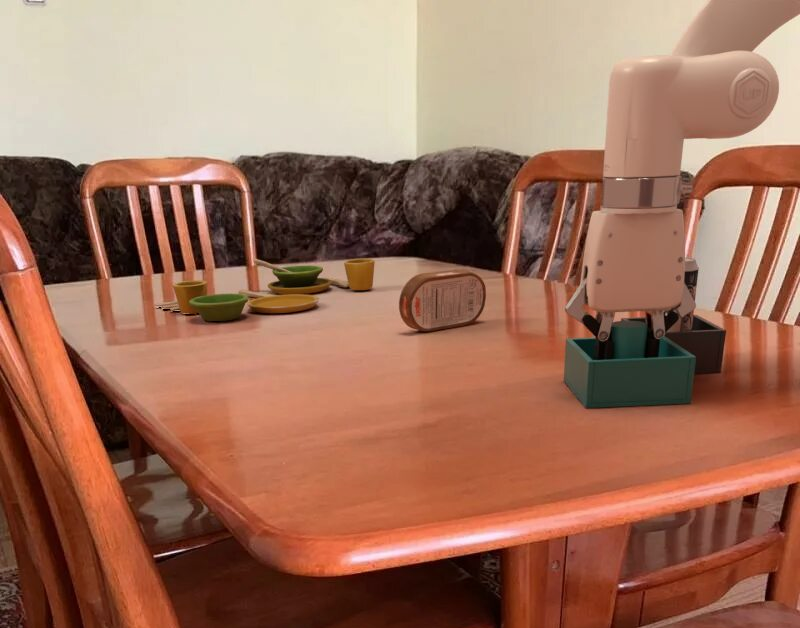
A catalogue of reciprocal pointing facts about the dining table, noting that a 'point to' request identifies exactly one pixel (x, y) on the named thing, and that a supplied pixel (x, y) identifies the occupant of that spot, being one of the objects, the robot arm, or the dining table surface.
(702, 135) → the robot arm
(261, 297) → the tableware set
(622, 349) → the teal peg
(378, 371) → the dining table surface
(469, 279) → the tin
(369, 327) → the dining table surface
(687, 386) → the teal bin
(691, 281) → the beer can
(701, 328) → the charcoal bin
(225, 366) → the dining table surface
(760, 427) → the dining table surface
